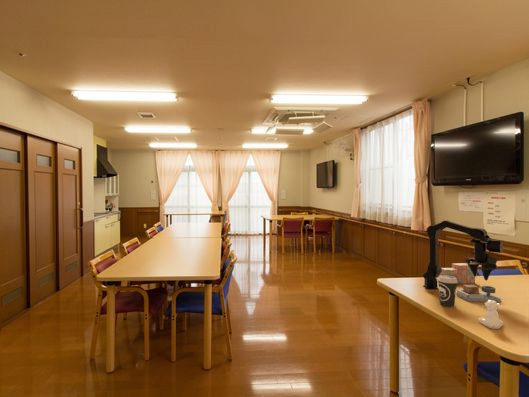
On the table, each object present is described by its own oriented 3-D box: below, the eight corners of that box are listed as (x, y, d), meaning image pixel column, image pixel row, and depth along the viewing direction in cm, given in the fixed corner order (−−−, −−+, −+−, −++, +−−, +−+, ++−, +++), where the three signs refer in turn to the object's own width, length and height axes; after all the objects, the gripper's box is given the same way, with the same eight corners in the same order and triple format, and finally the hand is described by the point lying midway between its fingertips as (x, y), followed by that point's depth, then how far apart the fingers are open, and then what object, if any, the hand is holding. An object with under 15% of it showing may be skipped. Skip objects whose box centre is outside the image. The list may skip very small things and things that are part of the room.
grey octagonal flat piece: (486, 293, 179) (486, 288, 179) (479, 290, 185) (479, 285, 185) (497, 293, 179) (497, 288, 179) (489, 290, 185) (489, 285, 185)
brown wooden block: (468, 296, 179) (468, 287, 179) (463, 294, 184) (463, 284, 184) (478, 296, 179) (479, 287, 179) (473, 294, 184) (473, 284, 184)
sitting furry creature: (502, 324, 145) (502, 298, 144) (508, 332, 137) (508, 304, 137) (477, 321, 148) (478, 295, 148) (482, 328, 140) (482, 301, 140)
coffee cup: (457, 309, 164) (457, 280, 164) (436, 305, 169) (436, 277, 169) (457, 304, 172) (458, 276, 172) (437, 300, 177) (437, 273, 177)
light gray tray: (468, 301, 176) (468, 292, 176) (456, 295, 187) (456, 286, 187) (500, 301, 176) (500, 292, 176) (486, 295, 187) (486, 286, 187)
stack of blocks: (444, 283, 212) (445, 265, 212) (439, 281, 218) (439, 263, 218) (475, 283, 213) (475, 264, 213) (468, 280, 220) (468, 263, 220)
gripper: (506, 253, 172) (507, 282, 172) (483, 248, 190) (483, 274, 190) (485, 253, 172) (486, 282, 172) (464, 248, 191) (465, 274, 191)
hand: (480, 278), depth 181 cm, fingers open, 9 cm apart
